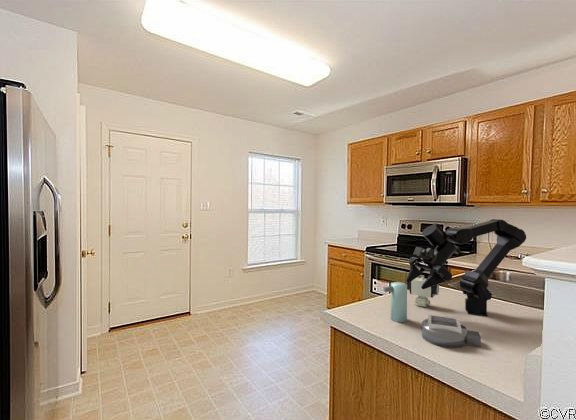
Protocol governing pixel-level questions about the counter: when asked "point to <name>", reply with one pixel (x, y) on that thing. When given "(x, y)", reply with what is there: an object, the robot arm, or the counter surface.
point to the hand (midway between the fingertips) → (414, 285)
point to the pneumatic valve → (422, 291)
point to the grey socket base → (448, 332)
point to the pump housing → (398, 301)
